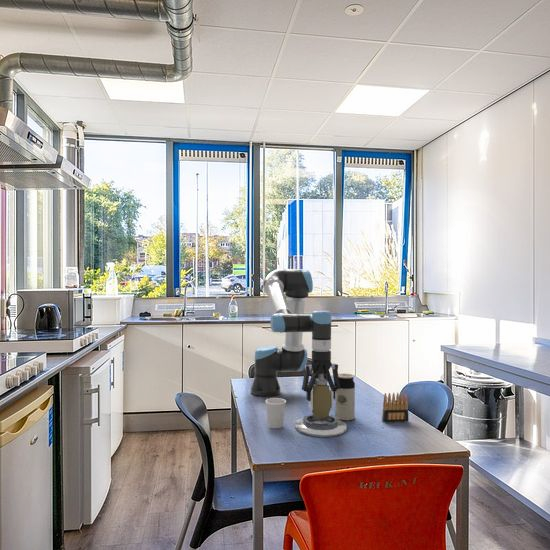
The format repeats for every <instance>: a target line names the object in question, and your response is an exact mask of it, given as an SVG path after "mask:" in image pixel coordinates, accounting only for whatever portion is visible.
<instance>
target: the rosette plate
mask: <svg viewBox="0 0 550 550" xmlns="http://www.w3.org/2000/svg"><path fill="white" fill-rule="evenodd" d="M335 416H336V415H335ZM335 416H334V415H332V414H329V416H328V417H326V418H317V417H314V416H313V413H312V414H308V415H305V416H304V417H302V418H298V419H297V420H296V421H295V422H294V423H295V424H294V425H295V430H296V431H297V432H298V433H300V434H302V435H305V436H308V437H316V438H332V436H335V437H339V436H341V434H342V435H344V434H345V433H346V432H347V424H346V423H345V422H344V420H340V419H337V418H336V417H335ZM343 433H344V434H343ZM338 435H339V436H338Z"/></svg>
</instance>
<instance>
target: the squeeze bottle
mask: <svg viewBox="0 0 550 550" xmlns="http://www.w3.org/2000/svg"><path fill="white" fill-rule="evenodd" d="M330 390H331V388H330V386H329V384H328V381H327V379H324V374H319V376H318V379H316V381H315V385H314V386H313V388H312V391H311V392H312V393H313V410H311V413H312V414H313V416H314V417H317V418H326V417H328V416H329V415H330V412H331V410H332V408H331V400H330Z"/></svg>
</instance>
